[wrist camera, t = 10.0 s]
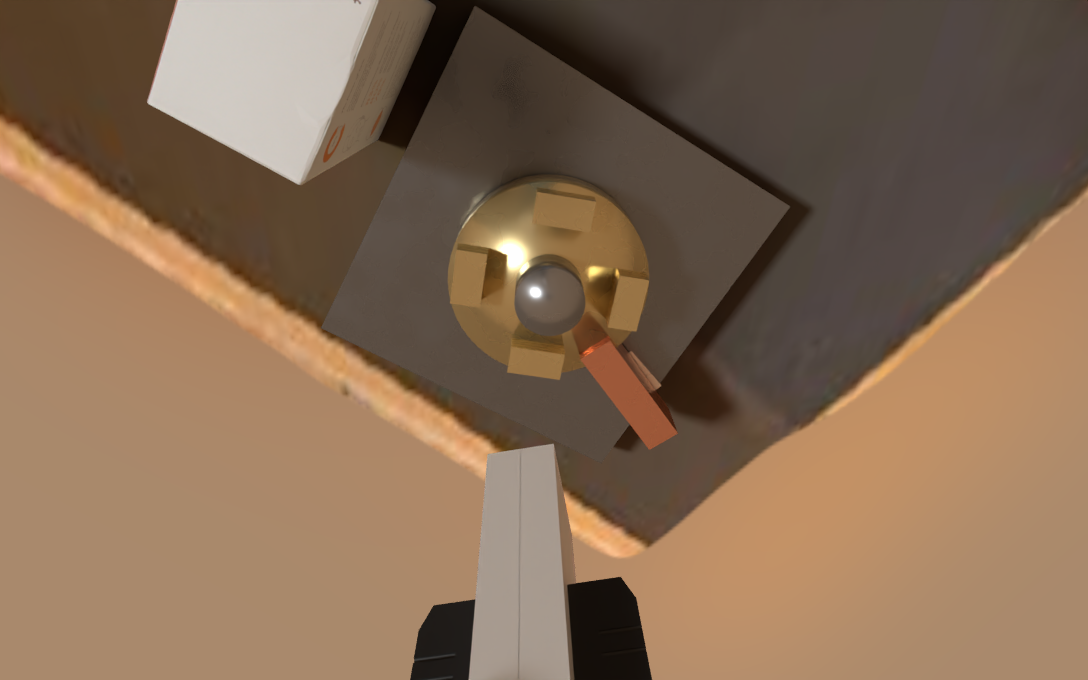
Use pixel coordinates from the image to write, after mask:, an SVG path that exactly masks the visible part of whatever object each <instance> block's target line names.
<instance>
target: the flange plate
mask: <svg viewBox="0 0 1088 680" xmlns="http://www.w3.org/2000/svg"><path fill="white" fill-rule="evenodd" d="M542 174H555V175H564V176H569V177H573V178H577V179H580V180H582V181H585V182H588V183H590V184H592V185H594V186H595V187H597V188H599V189H601V190H602V191H604V192H605V193H606V194H608V195H609V196H610V197H612V198H613V199H614V200H615V201H616V202H617V203H618V204H619V205H620V206H621V208H622V209H623V210H624V212H625V213H626V214H627V216H628V217H629V219H630V221H631V223H632V224H633V226H634V228H635V230H636V231H637V233H638V235H639V237H640V239H641V241H642V244H643V246H644V249H645V252H646V256H647V260H648V268H649V288H648V294H647V299H646V302H645V306H644V309H643V312H642V314H641V316H640V320H639V323H638V327H637V331H636V332H635V331H631V333H630V334H629V335H628V336H627V338H626V339H625V340H624V341H623V342H622V345H623V346H624V347H625V349H626V350H627V352H628V353H629V354H630V356H631V357H632V358H633V360H634V361H635V363H636V364H637V365H638V367H639V368H640V370H641V371H642V372H643V374H644V375H645V376H646V378H647V379H648V381H649V382H650V383H651V385H652V386H653V387H654V389H655V390H656V389H658V388H659V387H661V386H662V385H661V384H660V383H661V381H662V380H663V379H664V377H665V376H666V375H667V373H668V372H669V370H670V369H671V368H672V366H673V365H674V364H675V362H676V361H677V360H678V358H679V357H680V356H681V354H682V353H683V351H684V350H685V349H686V347H687V346H688V345H689V343H690V342H691V341H692V339H693V338H694V337H695V335H696V334H697V332H698V331H699V330H700V328H701V327H702V326H703V324H704V323H705V322H706V320H707V319H708V318H709V316H710V315H711V314H712V312H713V311H714V309H715V308H716V307H717V305H718V304H719V303H720V301H721V300H722V299H723V297H724V296H725V295H726V293H727V292H728V290H729V289H730V288H731V286H732V285H733V284H734V282H735V281H736V280H737V278H738V277H739V276H740V274H741V273H742V271H743V270H744V269H745V267H746V266H747V265H748V263H749V262H750V261H751V259H752V258H753V257H754V255H755V254H756V252H757V251H758V250H759V248H760V247H761V246H762V244H763V243H764V242H765V240H766V239H767V238H768V236H769V235H770V233H771V232H772V231H773V229H774V228H775V227H776V225H777V224H778V223H779V221H780V220H781V219H782V217H783V216H784V215H785V213H786V212H787V210H788V209H789V208H790V206H789V205H787V204H786V203H784V202H782V201H781V200H779V199H778V198H776V197H775V196H773V195H771V194H770V193H768V192H767V191H765V190H764V189H762V188H760V187H759V186H757V185H756V184H754V183H753V182H751V181H749V180H748V179H746V178H745V177H743V176H742V175H740V174H738V173H737V172H735V171H734V170H732V169H731V168H729V167H727V166H726V165H724V164H723V163H721V162H720V161H718V160H716V159H715V158H713V157H712V156H710V155H709V154H707V153H705V152H704V151H702V150H701V149H699V148H698V147H696V146H694V145H693V144H691V143H690V142H688V141H687V140H685V139H683V138H682V137H680V136H679V135H677V134H676V133H674V132H673V131H671V130H669V129H668V128H666V127H665V126H663V125H662V124H660V123H658V122H657V121H655V120H654V119H652V118H651V117H649V116H647V115H646V114H644V113H643V112H641V111H640V110H638V109H636V108H635V107H633V106H632V105H630V104H629V103H627V102H625V101H624V100H622V99H621V98H619V97H618V96H616V95H614V94H613V93H611V92H610V91H608V90H607V89H605V88H603V87H602V86H600V85H599V84H597V83H596V82H594V81H592V80H591V79H589V78H588V77H586V76H585V75H583V74H581V73H580V72H578V71H577V70H575V69H574V68H572V67H570V66H569V65H567V64H566V63H564V62H563V61H561V60H559V59H558V58H556V57H555V56H553V55H552V54H550V53H548V52H547V51H545V50H544V49H542V48H541V47H539V46H538V45H536V44H534V43H533V42H531V41H530V40H528V39H527V38H525V37H523V36H522V35H520V34H519V33H517V32H516V31H514V30H512V29H511V28H509V27H508V26H506V25H505V24H503V23H501V22H500V21H498V20H497V19H495V18H494V17H492V16H490V15H489V14H487V13H486V12H484V11H483V10H481V9H479V8H478V7H476V6H474V9H473V11H472V13H471V15H470V17H469V19H468V21H467V23H466V25H465V27H464V29H463V32H462V34H461V36H460V38H459V40H458V42H457V44H456V46H455V48H454V50H453V53H452V55H451V57H450V59H449V61H448V63H447V65H446V67H445V69H444V71H443V74H442V76H441V78H440V80H439V82H438V84H437V86H436V88H435V90H434V92H433V94H432V97H431V99H430V101H429V103H428V105H427V107H426V109H425V111H424V113H423V115H422V118H421V120H420V122H419V124H418V126H417V128H416V130H415V132H414V134H413V136H412V139H411V141H410V143H409V145H408V147H407V149H406V151H405V153H404V155H403V157H402V159H401V162H400V164H399V166H398V168H397V170H396V172H395V174H394V176H393V178H392V180H391V183H390V185H389V187H388V189H387V191H386V193H385V195H384V197H383V199H382V201H381V203H380V206H379V208H378V210H377V212H376V214H375V216H374V218H373V220H372V222H371V224H370V227H369V229H368V231H367V233H366V235H365V237H364V239H363V241H362V243H361V245H360V248H359V250H358V252H357V254H356V256H355V258H354V260H353V262H352V264H351V266H350V268H349V271H348V273H347V275H346V277H345V279H344V281H343V283H342V285H341V287H340V289H339V292H338V294H337V296H336V298H335V300H334V302H333V304H332V306H331V308H330V310H329V313H328V315H327V317H326V319H325V321H324V323H323V325H322V327H321V328H322V329H324V330H326V331H328V332H330V333H333V334H335V335H337V336H339V337H341V338H343V339H345V340H347V341H349V342H351V343H353V344H355V345H357V346H359V347H362V348H364V349H366V350H368V351H370V352H372V353H374V354H376V355H378V356H380V357H382V358H384V359H386V360H388V361H390V362H393V363H395V364H397V365H399V366H401V367H403V368H405V369H407V370H409V371H411V372H413V373H415V374H417V375H419V376H422V377H424V378H426V379H428V380H430V381H432V382H434V383H436V384H438V385H440V386H442V387H444V388H446V389H448V390H450V391H453V392H455V393H457V394H459V395H461V396H463V397H465V398H467V399H469V400H471V401H473V402H475V403H477V404H479V405H482V406H484V407H486V408H488V409H490V410H492V411H494V412H496V413H498V414H500V415H502V416H504V417H506V418H508V419H510V420H513V421H515V422H517V423H519V424H521V425H523V426H525V427H527V428H529V429H531V430H533V431H535V432H537V433H539V434H542V435H544V436H546V437H548V438H550V439H552V440H554V441H556V442H558V443H560V444H562V445H564V446H566V447H568V448H571V449H573V450H575V451H577V452H579V453H581V454H583V455H585V456H587V457H589V458H591V459H593V460H595V461H597V462H599V463H602V461H603V460H604V459H605V457H606V456H607V455H608V453H609V452H610V450H611V449H612V448H613V446H614V445H615V444H616V442H617V441H618V440H619V438H620V437H621V436H622V434H623V433H624V431H625V430H626V429H627V427H628V426H629V425H630V424H629V423H628V421H627V420H626V419H625V417H624V416H623V415H622V413H621V412H620V411H619V409H618V408H617V407H616V406H615V404H614V403H613V402H612V400H611V399H610V398H609V396H608V395H607V394H606V392H605V391H604V390H603V389H602V387H601V386H600V385H599V383H598V382H597V381H596V379H595V378H594V377H593V376H592V374H591V373H590V372H589V370H588V369H587V368H586V367H583V368H580V369H576V370H573V371H569V372H562V373H561V377H560V380H557V379H550V378H543V377H536V376H529V375H522V374H515V373H508V372H507V367H508V366H507V365H505V364H503V363H501V362H499V361H497V360H495V359H493V358H492V357H490V356H489V355H487V354H486V353H485V352H483V351H482V350H481V349H480V348H479V347H477V346H476V344H475V343H474V342H473V341H472V340H471V339H470V338H469V337H468V336H467V334H466V333H465V331H464V330H463V329H462V327H461V325H460V323H459V322H458V320H457V318H456V316H455V313H454V310H453V308H452V305H451V304H450V296H449V290H448V267H449V262H450V256H451V253H452V250H453V247H454V244H455V242H456V239H457V237H458V234H459V232H460V230H461V228H462V226H463V224H464V222H465V220H466V219H467V217H468V216H469V214H470V213H471V211H472V210H473V209H474V208H475V207H476V206H477V204H478V203H479V202H480V201H481V200H482V199H484V198H485V197H486V196H487V195H488V194H490V193H491V192H493V191H494V190H496V189H497V188H499V187H500V186H502V185H505V184H507V183H509V182H511V181H513V180H517V179H520V178H523V177H527V176H533V175H542ZM585 304H586V303H585V294H584V290H583V285H582V280H581V276H580V274H579V272H578V270H577V268H576V267H575V266H574V265H573V263H571V262H570V261H569V260H567V259H566V258H564V257H561V256H558V255H554V254H544V255H540V256H537V257H534V258H532V259H531V260H529V261H528V262H527V263H525V264H524V265H523V267H522V268H521V269H520V271H519V273H518V275H517V278H516V286H515V301H514V305H515V311H516V314H517V317H518V319H519V320H520V322H521V323H522V324H523V325H524V326H525V327H526V328H527V329H528V330H530V331H532V332H534V333H536V334H539V335H543V336H556V335H560V334H563V333H566V332H568V331H569V330H571V329H572V328H573V327H575V326H576V325H577V324H578V322H579V321H580V320H581V318H582V316H583V313H584V310H585Z"/></svg>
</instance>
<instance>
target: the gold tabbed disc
mask: <svg viewBox="0 0 1088 680" xmlns="http://www.w3.org/2000/svg"><path fill="white" fill-rule="evenodd" d="M544 254H554V255H558V256H561V257H564V258H566V259H567V260H569V261H570V262H571V263H573V265H574V266H575V267H576V268H577V270H578V272H579V274H580V276H581V280H582V285H583V290H584V294H585V303H586V304H585V310H584V313H583V316H582V318H581V320H580V321H579V322H578V324H577V325H576V326H575V327H573V328H572V329H571V330H569V331H568V332H566V333H563V334H560V335H556V336H543V335H539V334H536V333H534V332H532V331H530V330H528V329H527V328H526V327H525V326H524V325H523V324H522V323H521V322H520V320H519V319H518V317H517V314H516V311H515V305H514V301H515V286H516V278H517V275H518V273H519V271H520V269H521V268H522V267H523V265H524V264H525V263H527V262H528V261H529V260H531V259H532V258H534V257H537V256H540V255H544ZM648 288H649V268H648V260H647V256H646V252H645V249H644V246H643V244H642V241H641V239H640V237H639V235H638V233H637V231H636V230H635V228H634V226H633V224H632V223H631V221H630V219H629V217H628V216H627V214H626V213H625V212H624V210H623V209H622V208H621V206H620V205H619V204H618V203H617V202H616V201H615V200H614V199H613V198H612V197H610V196H609V195H608V194H606V193H605V192H604V191H602V190H601V189H599V188H597V187H595V186H594V185H592V184H590V183H588V182H585V181H582V180H580V179H577V178H573V177H569V176H564V175H555V174H542V175H533V176H527V177H523V178H520V179H517V180H513V181H511V182H509V183H507V184H505V185H502V186H500V187H499V188H497V189H496V190H494V191H493V192H491V193H490V194H488V195H487V196H486V197H485V198H484V199H482V200H481V201H480V202H479V203H478V204H477V206H476V207H475V208H474V209H473V210H472V211H471V213H470V214H469V216H468V217H467V219H466V220H465V222H464V224H463V226H462V228H461V230H460V232H459V234H458V237H457V239H456V242H455V244H454V247H453V250H452V253H451V256H450V262H449V267H448V290H449V296H450V304H451V305H452V308H453V310H454V313H455V316H456V318H457V320H458V322H459V323H460V325H461V327H462V329H463V330H464V331H465V333H466V334H467V336H468V337H469V338H470V339H471V340H472V341H473V342H474V343H475V344H476V346H477V347H479V348H480V349H481V350H482V351H483V352H485V353H486V354H487V355H489V356H490V357H492V358H493V359H495V360H497V361H499V362H501V363H503V364H505V365H507V366H508V367H507V372H508V373H515V374H522V375H529V376H536V377H543V378H550V379H557V380H560V377H561V373H562V372H569V371H573V370H576V369H580V368H583V367H586V368H587V369H588V370H589V372H590V373H591V374H592V376H593V377H594V378H595V379H596V381H597V382H598V383H599V385H600V386H601V387H602V389H603V390H604V391H605V392H606V394H607V395H608V396H609V398H610V399H611V400H612V402H613V403H614V404H615V406H616V407H617V408H618V409H619V411H620V412H621V413H622V415H623V416H624V417H625V419H626V420H627V421H628V423H629V424H630V425H631V426H632V428H633V429H634V430H635V432H636V433H637V434H638V436H639V437H640V438H641V439H642V441H643V442H644V443H645V445H646V446H647V447H648V449H649V450H650V449H652V448H653V447H655V446H657V445H659V444H660V443H662V442H664V441H666V440H667V439H669V438H671V437H672V436H674V435H676V434H678V432H677V430H676V427H675V424H674V422H673V419H672V416H671V414H670V411H669V408H668V407H667V405H666V404H665V403H664V401H663V400H662V398H661V397H660V396H659V394H658V393H657V392H656V390H655V389H654V387H653V386H652V385H651V383H650V382H649V381H648V379H647V378H646V376H645V375H644V374H643V372H642V371H641V370H640V368H639V367H638V365H637V364H636V363H635V361H634V360H633V358H632V357H631V356H630V354H629V353H628V352H627V350H626V349H625V347H624V346H623V345H622V342H623V341H624V340H625V339H626V338H627V336H628V335H629V334H630V333H631V331H635V332H636V331H637V327H638V323H639V320H640V316H641V314H642V312H643V309H644V306H645V302H646V299H647V294H648Z"/></svg>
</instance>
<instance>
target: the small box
mask: <svg viewBox="0 0 1088 680" xmlns="http://www.w3.org/2000/svg"><path fill="white" fill-rule="evenodd" d="M435 9H436V6H435V5H434V4H433V3H431V2H430V1H428V0H176V3H175V7H174V11H173V14H172V17H171V20H170V24H169V27H168V31H167V34H166V38H165V42H164V45H163V48H162V52H161V55H160V59H159V62H158V66H157V69H156V72H155V76H154V79H153V83H152V86H151V90H150V94H149V97H148V100H147V102H148V104H150V105H151V106H153V107H155V108H157V109H159V110H161V111H163V112H165V113H166V114H168V115H170V116H172V117H174V118H176V119H178V120H179V121H181V122H183V123H185V124H187V125H189V126H191V127H192V128H194V129H196V130H198V131H200V132H202V133H204V134H205V135H207V136H209V137H211V138H213V139H215V140H217V141H218V142H220V143H222V144H224V145H226V146H228V147H230V148H231V149H233V150H235V151H237V152H239V153H241V154H243V155H245V156H246V157H248V158H250V159H252V160H254V161H256V162H258V163H259V164H261V165H263V166H265V167H267V168H269V169H271V170H272V171H274V172H276V173H278V174H280V175H282V176H283V177H285V178H287V179H289V180H291V181H293V182H295V183H296V184H298V185H302V184H304V183H305V182H307V181H309V180H311V179H312V178H314V177H316V176H317V175H319V174H321V173H322V172H324V171H326V170H328V169H329V168H331V167H333V166H335V165H336V164H338V163H340V162H341V161H343V160H345V159H346V158H348V157H350V156H351V155H353V154H355V153H356V152H358V151H360V150H362V149H363V148H365V147H367V146H368V145H370V144H372V143H374V142H375V141H377V140H378V139H379V137H380V135H381V133H382V131H383V128H384V126H385V124H386V122H387V120H388V118H389V115H390V113H391V111H392V109H393V106H394V104H395V102H396V100H397V97H398V95H399V93H400V91H401V88H402V86H403V84H404V81H405V79H406V77H407V75H408V72H409V70H410V68H411V65H412V63H413V61H414V59H415V56H416V54H417V52H418V49H419V47H420V45H421V43H422V40H423V38H424V36H425V33H426V31H427V29H428V26H429V24H430V21H431V19H432V16H433V14H434V12H435Z"/></svg>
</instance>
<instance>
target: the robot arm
mask: <svg viewBox="0 0 1088 680" xmlns="http://www.w3.org/2000/svg"><path fill="white" fill-rule="evenodd" d="M575 577H576V576H575V565H574V554H573V544H572V534H571V529H570V524H569V519H568V514H567V509H566V504H565V499H564V494H563V489H562V484H561V479H560V474H559V469H558V463H557V458H556V453H555V448H554V444H550V445H543V446H537V447H531V448H524V449H518V450H511V451H505V452H499V453H492V454H488V456H487V468H486V480H485V493H484V504H483V516H482V529H481V539H480V552H479V563H478V576H477V588H476V599H475V600H469V601H462V602H455V603H448V604H441V605H434V606H433V607H432V609H431V611H430V613H429V614H428V616H427V618H426V619H425V621H424V623H423V624H422V626H421V628H420V630H419V632H418V638H417V644H416V650H415V655H414V663H413V667H412V673H411V679H410V680H652V677H651V672H650V668H649V662H648V657H647V652H646V647H645V641H644V636H643V631H642V626H641V621H640V616H639V610H638V606H637V600H636V597H635V596H634V595H633V593H632V592H631V591H630V589H629V588H628V586H627V585H626V584H625V582H624V581H623V580H622V578H621V577H616V578H609V579H603V580H596V581H589V582H582V583H576V578H575Z"/></svg>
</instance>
